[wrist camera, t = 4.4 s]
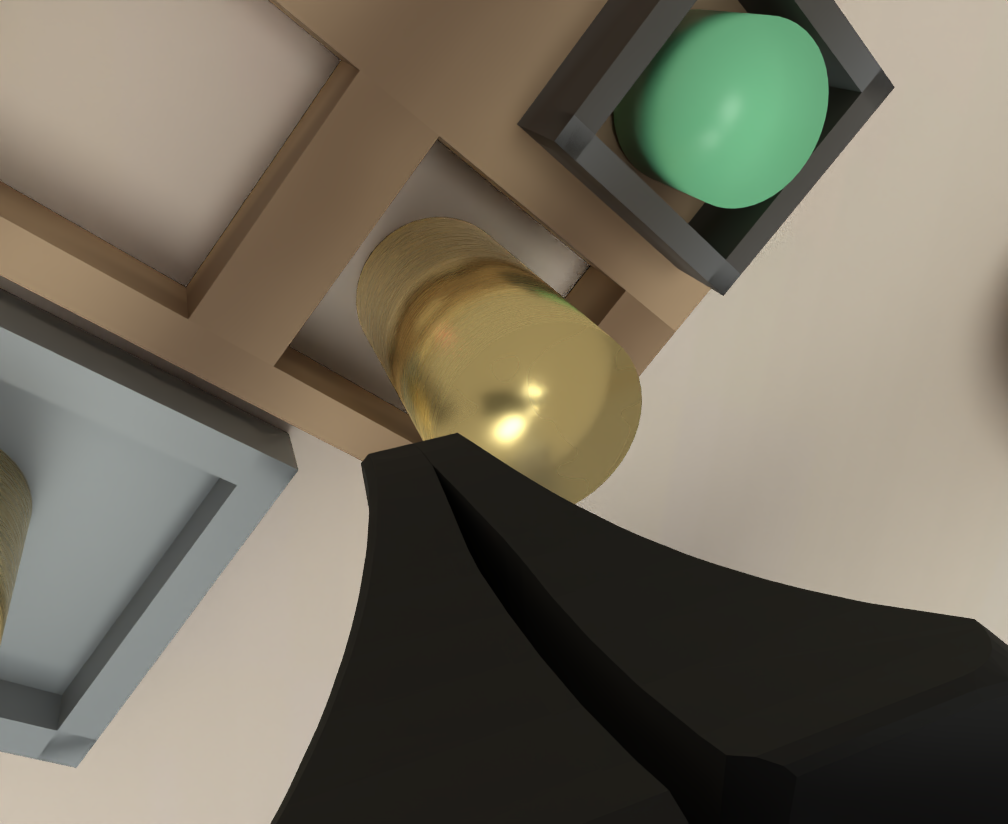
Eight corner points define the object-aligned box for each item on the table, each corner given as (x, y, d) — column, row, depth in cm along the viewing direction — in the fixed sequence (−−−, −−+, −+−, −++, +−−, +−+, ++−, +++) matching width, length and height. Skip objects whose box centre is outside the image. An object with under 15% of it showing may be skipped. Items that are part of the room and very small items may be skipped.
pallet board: (808, 92, 22) (925, 114, 18) (484, 496, 24) (536, 581, 21) (165, -727, 12) (167, -991, 9) (-272, 89, 14) (-404, 128, 11)
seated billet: (540, 275, 21) (681, 391, 16) (448, 395, 22) (550, 549, 16) (421, 183, 19) (533, 278, 13) (323, 319, 20) (389, 465, 14)
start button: (785, 84, 19) (857, 99, 17) (683, 213, 19) (742, 241, 17) (691, -31, 17) (761, -30, 15) (581, 115, 17) (635, 135, 16)
